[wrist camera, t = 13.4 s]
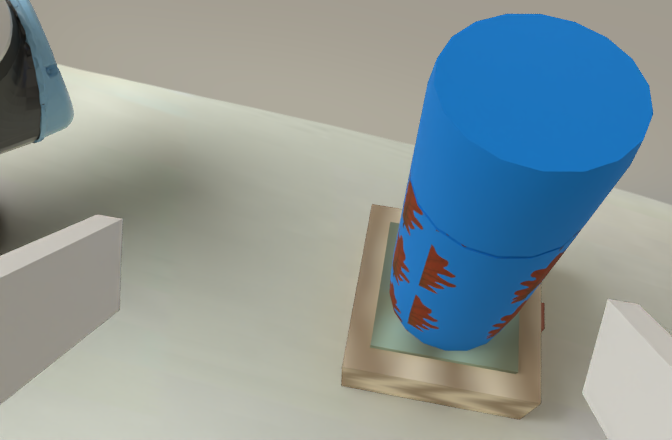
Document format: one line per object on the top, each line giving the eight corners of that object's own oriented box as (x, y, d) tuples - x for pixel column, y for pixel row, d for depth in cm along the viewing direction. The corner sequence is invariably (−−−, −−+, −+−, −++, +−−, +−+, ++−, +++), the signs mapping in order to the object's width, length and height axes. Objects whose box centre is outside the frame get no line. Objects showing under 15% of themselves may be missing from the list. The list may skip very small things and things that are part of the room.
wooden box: (341, 385, 51) (342, 364, 45) (368, 234, 59) (372, 200, 54) (526, 420, 50) (551, 403, 44) (528, 261, 58) (549, 228, 52)
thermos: (503, 238, 52) (624, 11, 30) (522, 353, 46) (688, 175, 25) (384, 238, 51) (420, 10, 30) (389, 353, 46) (439, 174, 25)
